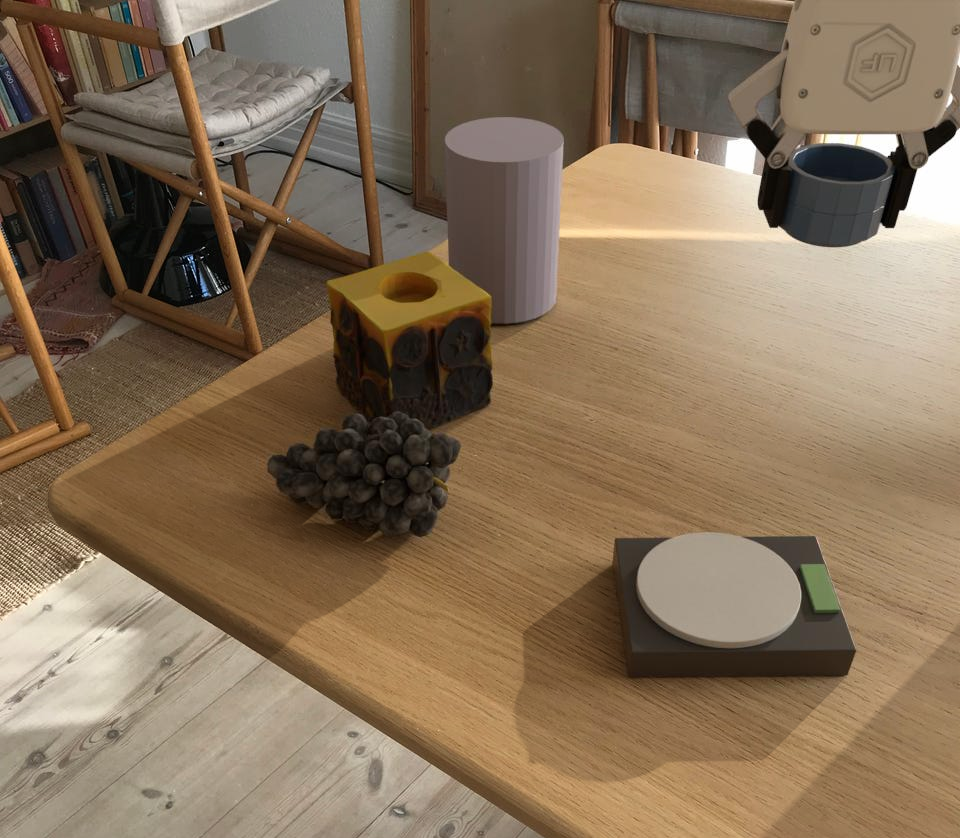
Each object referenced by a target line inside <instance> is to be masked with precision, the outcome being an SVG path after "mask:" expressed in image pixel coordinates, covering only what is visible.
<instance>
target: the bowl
mask: <svg viewBox="0 0 960 838" xmlns="http://www.w3.org/2000/svg"><path fill="white" fill-rule="evenodd" d="M788 163H789V165H790V167H791V170H792V176H791V181H790V185H789V190H788V195H787V200H786V205H785V210H784V215H783V219H782V224H781V226H778V228H780V229H781V230H783V231H784V232H785V233H786V234H787V235H788V236H789V237H790V238H792V239H794V240H796V241H799V242H801V243H804V244H806V245H811V246H815V247H820V248H847V247H851V246H856V245H858V244H861V243H862V242H866V241H868V240H870V239H871V238H873V237H875V236H876V235H878V233H879V230H880V227H881V225H882V224H881V221H882V217H883V213H884V210H885V206H886V202H887V198H888V195H889V191H890V188H891V184H892V181H893V177H894V173H895V170H896V167H895V165H894V164H893V162H892V161H891V159H889V158H888V156H886V155H884V154H883V153H881V152H880V151H877V150H874V149H871V148H867V147H864V146H862V145H861V146H860V145H856V144H855V145H854V144H847V143H841V142H819V143H812V144H807V145H802V146H800V147H796V149H795V150H794V152H793V153H792V154H791V156H790V157H789V162H788Z"/></svg>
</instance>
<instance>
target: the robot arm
mask: <svg viewBox="0 0 960 838" xmlns="http://www.w3.org/2000/svg"><path fill="white" fill-rule="evenodd" d="M959 59H960V0H794V2H793V4H792V8H791V12H790V15H789V19H788V22H787V26H786V30H785V34H784V37H783V42H782V46H781V51H780V53H779V54H777V55H776V56H774V57H773V58H772V59H771V60H769V61H768V62H767V63H765V64H764V65H763V66H761V67H760V68H759V69H757V70H756V71H755V72H753V74H751V75H750V76H748V77H747V78H746V79H745V80H743V81H742V82H741V83H740V84H738V85H737V86H736V87H734V88H733V89H732V90H731V91H729V93H728V95H727V102H728V105H729V107H730V109H731V111H732V113H733V114H734V116H735V118H736V119H737V121H738V123H739V124H740V126H741V128H742V129H743V131H744V132H745V134H746V135H747V138H748V139H749V140H750V142H751V143H752V144H753V145H754V147H755V148H756V149H757V151H758V152H759V153H760V154H761V155H762V156H763V158H764V162H763V167H762V173H761V178H760V184H759V188H758V194H757V208H758V211H762V212H763V214H764V218H765V220H766V223H767V225H768V227H769V229H778V228H779V226H781V224H782V219H783V215H784V210H785V205H786V200H787V195H788V190H789V185H790V181H791V176H792V170H791V167H790V165H789V163H788V162H789V157H790V156H791V154H792V153H793V152H794V150H795V149H797V148H798V146H799V145H800V143H801V142H802V141H803V139H804V138H805V137H806V135H807V134H808V135H895V138H896V143H897V146H896V147H895V149H894V150H895V151H893V150H892V151H890V153H889V155H887V157H888V158H889V159H891V161H892V162H893V164H894V165H895V167H896V170H895V173H894V177H893V181H892V184H891V188H890V191H889V195H888V198H887V202H886V206H885V210H884V213H883V217H882V221H881V224H880V225H882V227H884V229H895V227H896V224H897V222H898V218H899V214H900V211H901V212H902V211H903V212H904V211H905V210H906V209H907V208H908V207H907V206H908V204H909V200H910V197H911V193H912V190H913V186H914V183H915V180H916V175H917V172H918V170H919V169H921V168H923V167H925V165H927V163H928V161H929V158H930V157H931V156H932V155H933V154H934V153H936V152H937V151H938V150H940V149H941V148H942V147H943V146H946V144H948V143H949V142H950V141H951V140H952V139H953V138H954V137H955V136H956V134H957V131H958V130H960V66H959V64H958V63H959ZM772 92H773V100H774V103H775V104H776V105H777V106H778V107H779V108H780V109H779V110H780V114H779V116H778V117H777V118H776V120H775V121H774V122H773V125H772V126H771V127H770V126H769V125H768V123H767V122H766V121H765V119H764V118H763V117H762V116H761V114H760V112H759V111H758V109H757V107H758V103H760V101H761V100H763V99H764V98H765V97H767V96H768V95H769V94H771V93H772ZM950 96H952V99H951V102H950V104H949V105H948V103H949V99H950Z"/></svg>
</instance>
